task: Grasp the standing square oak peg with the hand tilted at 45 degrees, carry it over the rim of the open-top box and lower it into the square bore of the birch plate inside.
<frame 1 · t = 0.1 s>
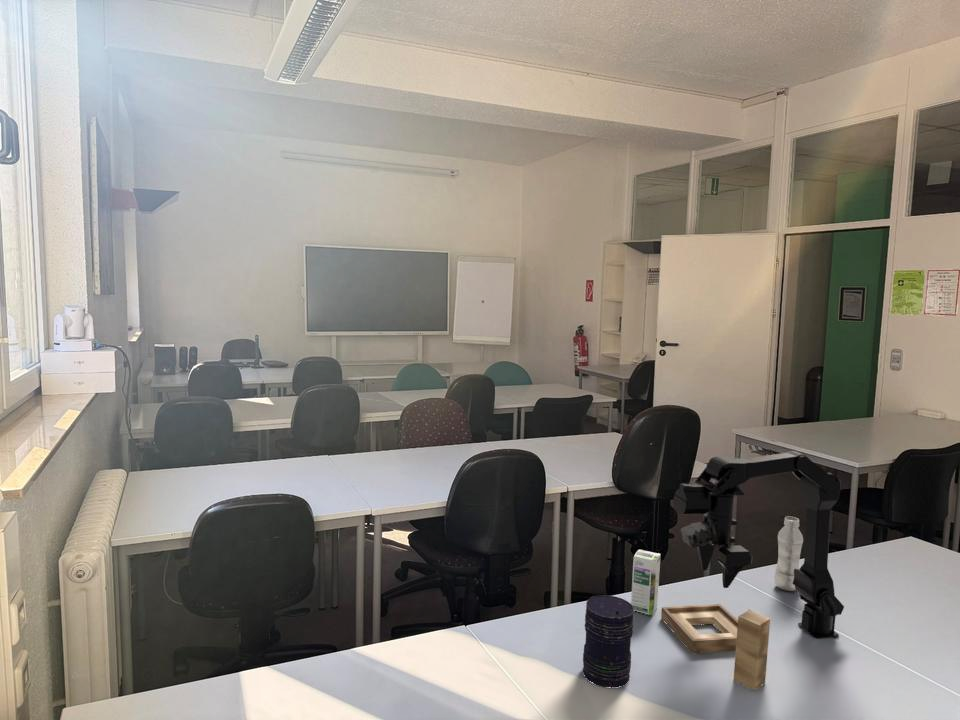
hand: (714, 578, 148), 15 cm above the table, tool pointing down, fingers open, 9 cm apart
peg: (749, 681, 133), on the table
socket box: (706, 633, 152), on the table
syrup box: (643, 609, 163), on the table
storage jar: (605, 675, 134), on the table
plastic bottle: (786, 589, 178), on the table
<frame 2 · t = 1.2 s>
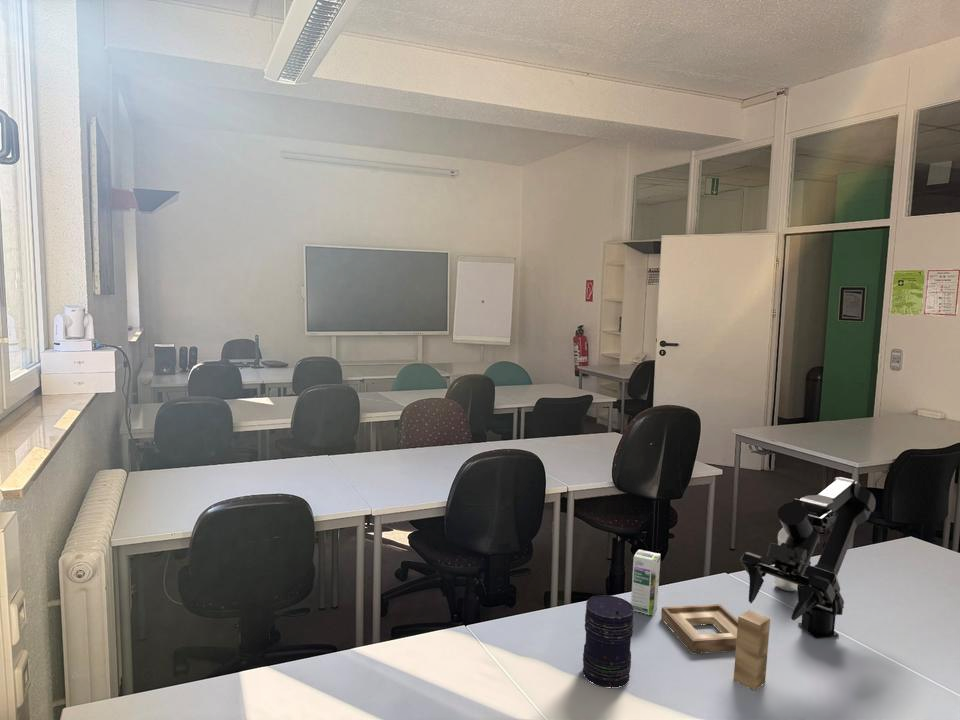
hand: (770, 610, 136), 13 cm above the table, tool tilted 45°, fingers open, 9 cm apart
nothing on the table moved.
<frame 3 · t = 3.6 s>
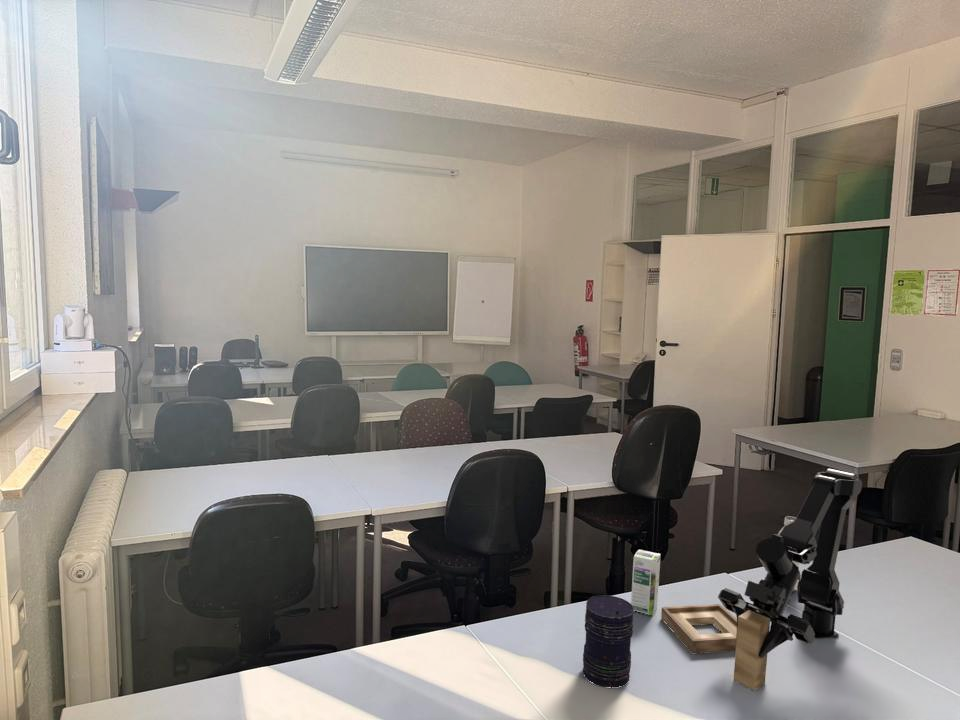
hand: (748, 651, 132), 7 cm above the table, tool tilted 45°, fingers closed on peg, 4 cm apart
peg: (749, 681, 133), on the table, touching gripper
everything else where it was.
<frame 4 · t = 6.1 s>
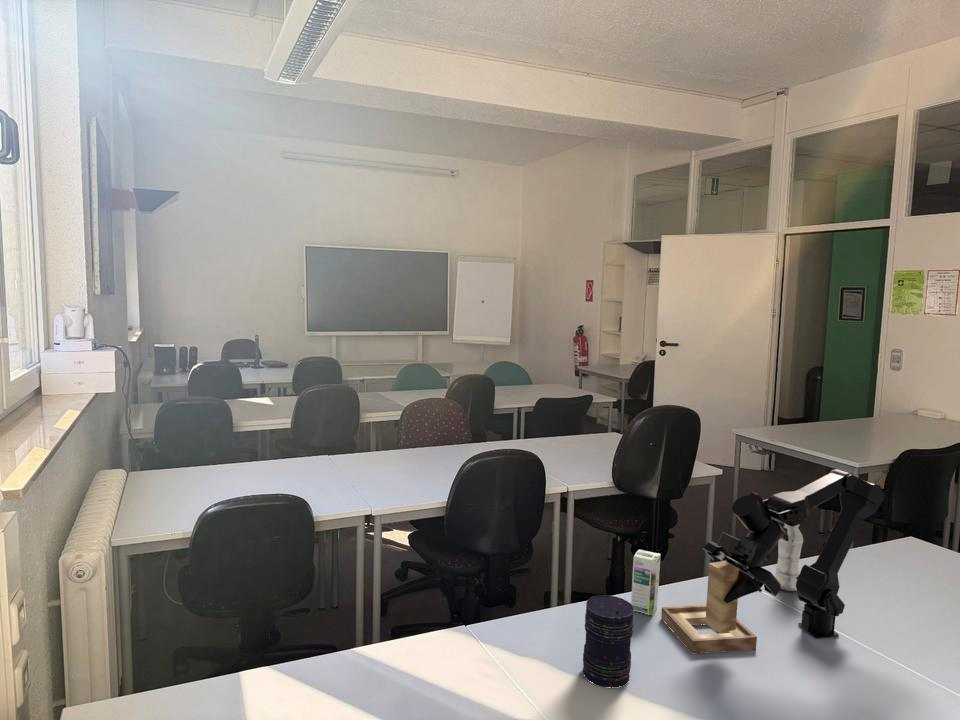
hand: (717, 596, 142), 13 cm above the table, tool tilted 45°, fingers closed on peg, 4 cm apart
peg: (720, 626, 143), point 6 cm above the table, touching gripper
everything else where it was.
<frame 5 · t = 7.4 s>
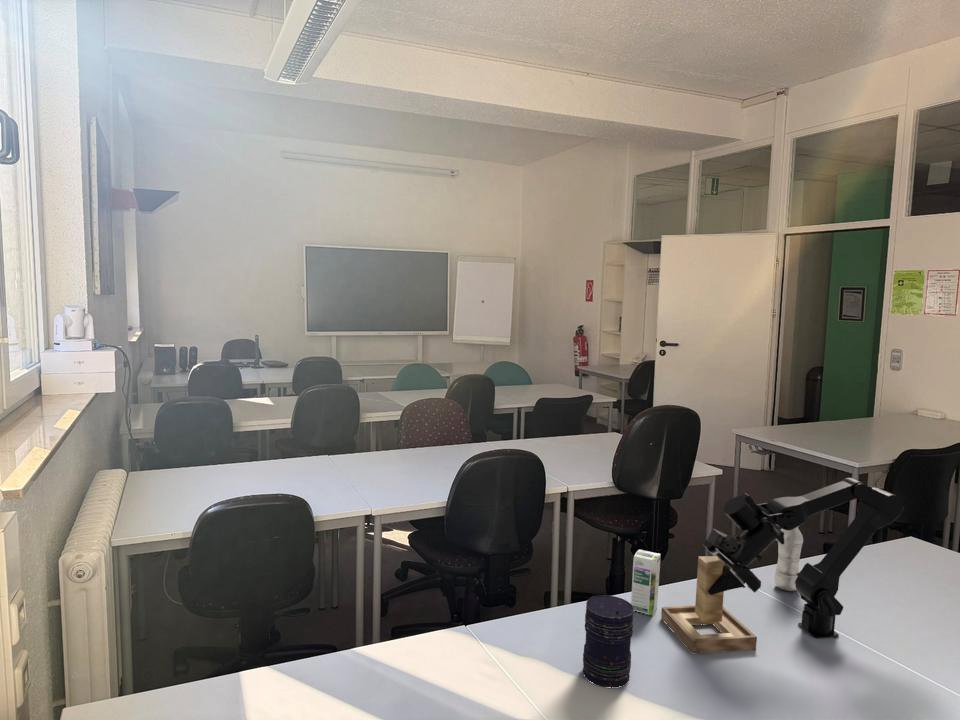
hand: (704, 588, 151), 11 cm above the table, tool tilted 45°, fingers closed on peg, 4 cm apart
peg: (708, 617, 152), point 4 cm above the table, touching gripper
everything else where it was.
when the fingers open (8 cm above the table, at t = 8.3 s): peg drops 1 cm, resting in socket box.
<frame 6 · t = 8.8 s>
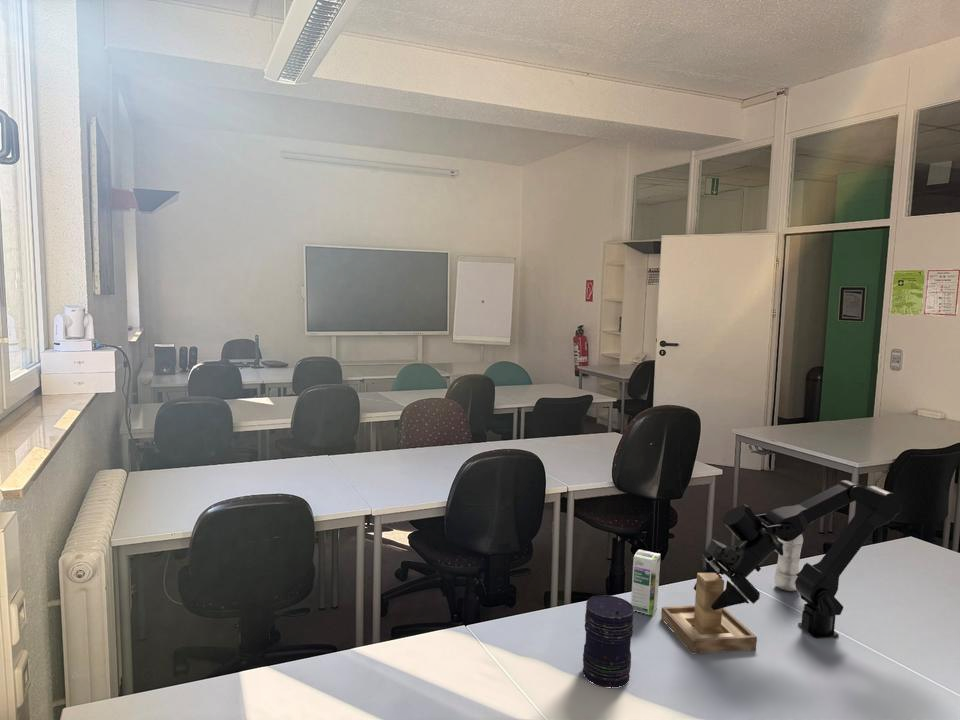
hand: (703, 599, 151), 9 cm above the table, tool tilted 45°, fingers open, 9 cm apart
peg: (706, 633, 152), resting in socket box
everything else where it was.
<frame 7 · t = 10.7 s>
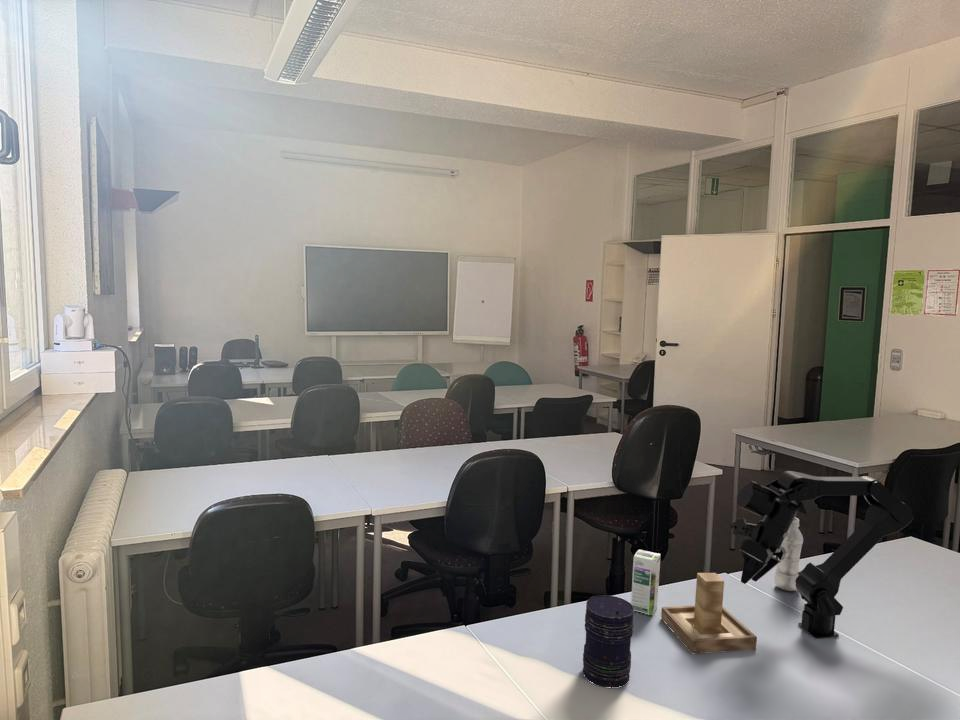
hand: (748, 581, 152), 12 cm above the table, tool tilted 20°, fingers open, 9 cm apart
nothing on the table moved.
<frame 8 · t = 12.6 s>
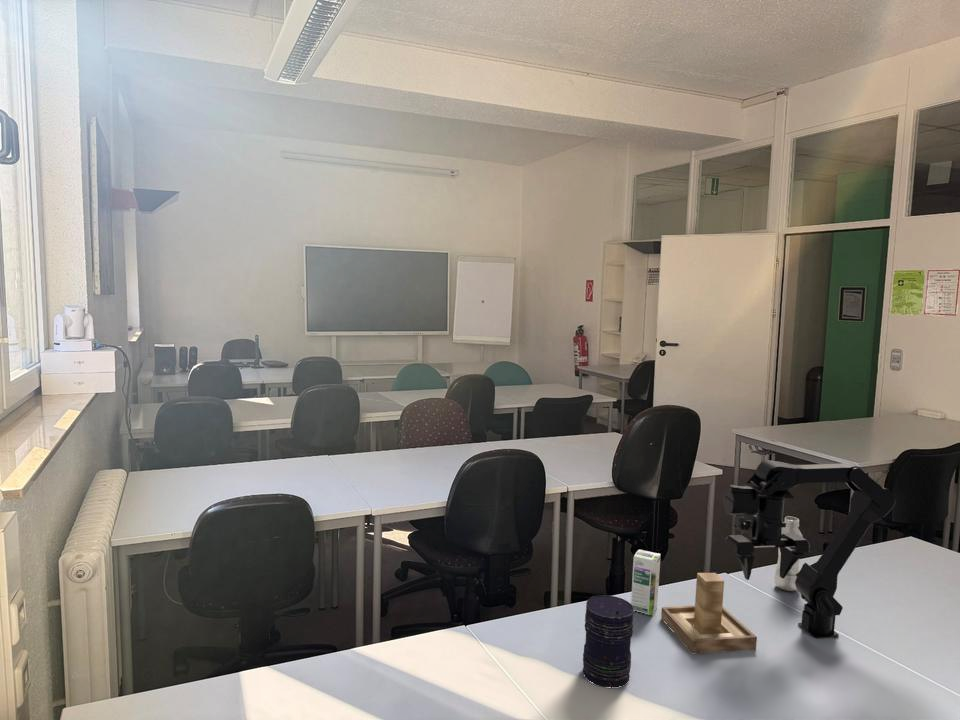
hand: (764, 578, 153), 13 cm above the table, tool pointing down, fingers open, 9 cm apart
nothing on the table moved.
at the end: peg 0.0 cm off-centre on the socket box, point 0.0 cm above the socket box's base; peg tilted 0°; the gripper is holding nothing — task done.
